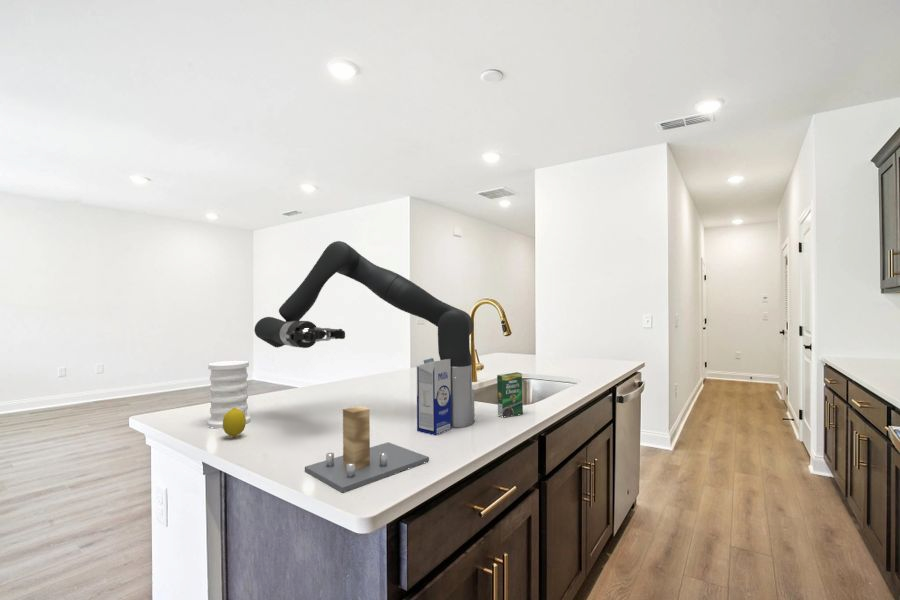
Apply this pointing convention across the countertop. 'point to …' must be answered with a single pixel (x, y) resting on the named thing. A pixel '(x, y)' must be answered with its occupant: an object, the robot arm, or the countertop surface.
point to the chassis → (382, 465)
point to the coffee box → (510, 394)
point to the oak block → (356, 436)
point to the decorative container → (227, 390)
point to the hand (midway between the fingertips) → (329, 335)
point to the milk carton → (434, 396)
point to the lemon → (234, 422)
